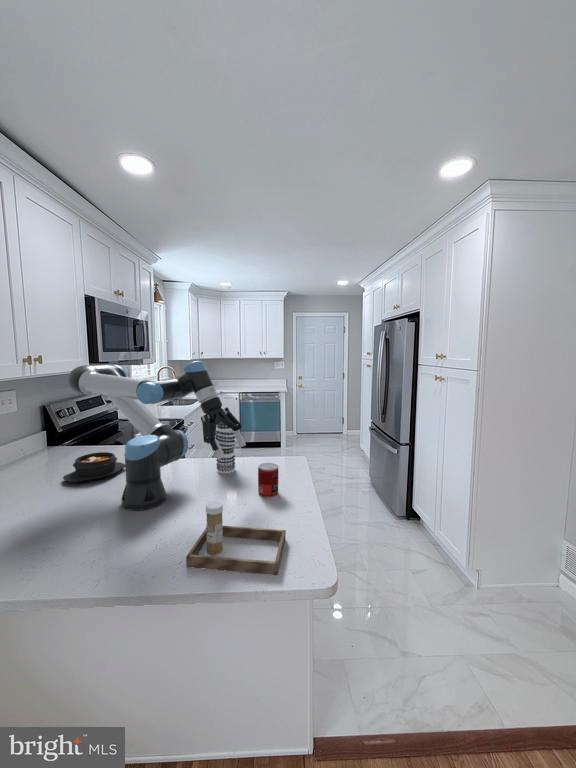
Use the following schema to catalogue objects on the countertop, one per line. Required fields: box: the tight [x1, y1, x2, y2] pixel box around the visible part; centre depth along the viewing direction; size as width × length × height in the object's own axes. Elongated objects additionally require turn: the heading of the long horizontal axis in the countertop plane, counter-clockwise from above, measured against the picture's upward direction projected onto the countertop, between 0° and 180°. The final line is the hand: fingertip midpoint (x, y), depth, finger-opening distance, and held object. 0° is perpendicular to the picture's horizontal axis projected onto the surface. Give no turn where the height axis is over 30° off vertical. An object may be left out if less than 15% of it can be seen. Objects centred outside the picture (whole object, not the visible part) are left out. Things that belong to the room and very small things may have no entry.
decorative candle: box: [215, 422, 236, 475], centre depth 152 cm, size 9×9×25 cm
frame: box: [185, 525, 287, 576], centre depth 90 cm, size 24×16×3 cm, turn 83°
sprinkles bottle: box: [205, 500, 224, 556], centre depth 91 cm, size 5×5×13 cm
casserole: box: [62, 451, 126, 483], centre depth 146 cm, size 25×19×8 cm
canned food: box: [257, 462, 279, 498], centre depth 129 cm, size 8×8×11 cm
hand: (232, 451), depth 122 cm, fingers open, 13 cm apart
